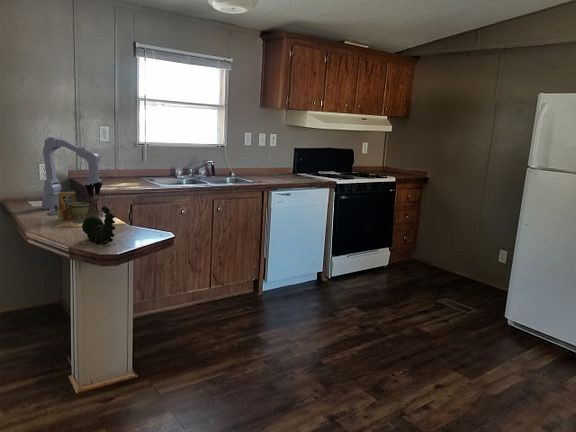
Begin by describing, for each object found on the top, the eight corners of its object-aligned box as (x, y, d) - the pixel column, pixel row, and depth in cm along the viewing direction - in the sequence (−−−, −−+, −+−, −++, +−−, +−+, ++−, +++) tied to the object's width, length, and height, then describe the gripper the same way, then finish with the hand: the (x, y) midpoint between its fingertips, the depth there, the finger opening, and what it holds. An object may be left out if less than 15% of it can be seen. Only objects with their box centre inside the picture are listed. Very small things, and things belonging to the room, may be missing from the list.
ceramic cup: (81, 224, 250) (81, 206, 248) (65, 222, 252) (64, 204, 250) (96, 219, 263) (95, 202, 261) (80, 218, 264) (80, 201, 263)
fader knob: (54, 211, 272) (54, 205, 271) (54, 209, 276) (54, 204, 276) (60, 211, 273) (59, 205, 273) (60, 209, 278) (59, 203, 277)
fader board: (49, 214, 270) (49, 211, 269) (49, 212, 277) (49, 209, 276) (87, 213, 279) (87, 210, 278) (86, 210, 286) (86, 208, 285)
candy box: (74, 218, 264) (73, 191, 261) (76, 219, 261) (75, 192, 258) (57, 219, 259) (56, 192, 256) (59, 220, 255) (58, 193, 252)
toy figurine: (120, 248, 214) (94, 233, 230) (121, 208, 210) (95, 196, 226) (100, 251, 208) (75, 235, 223) (101, 210, 203) (75, 197, 219)
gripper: (93, 174, 274) (94, 197, 277) (105, 172, 288) (106, 194, 291) (82, 173, 275) (83, 196, 277) (94, 171, 289) (95, 193, 292)
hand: (94, 195), depth 284 cm, fingers open, 7 cm apart
